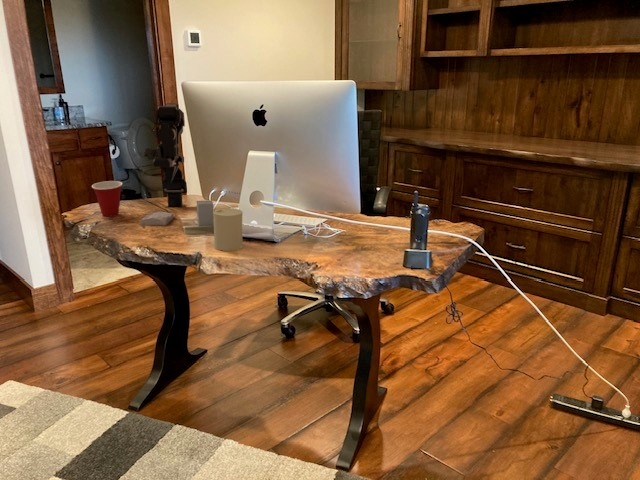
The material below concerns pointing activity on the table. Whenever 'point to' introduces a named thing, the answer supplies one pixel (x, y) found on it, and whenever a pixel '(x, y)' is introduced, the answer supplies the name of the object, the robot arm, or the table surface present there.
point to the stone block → (157, 219)
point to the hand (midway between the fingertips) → (169, 183)
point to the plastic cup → (108, 196)
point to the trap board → (196, 227)
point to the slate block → (205, 213)
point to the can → (228, 229)
